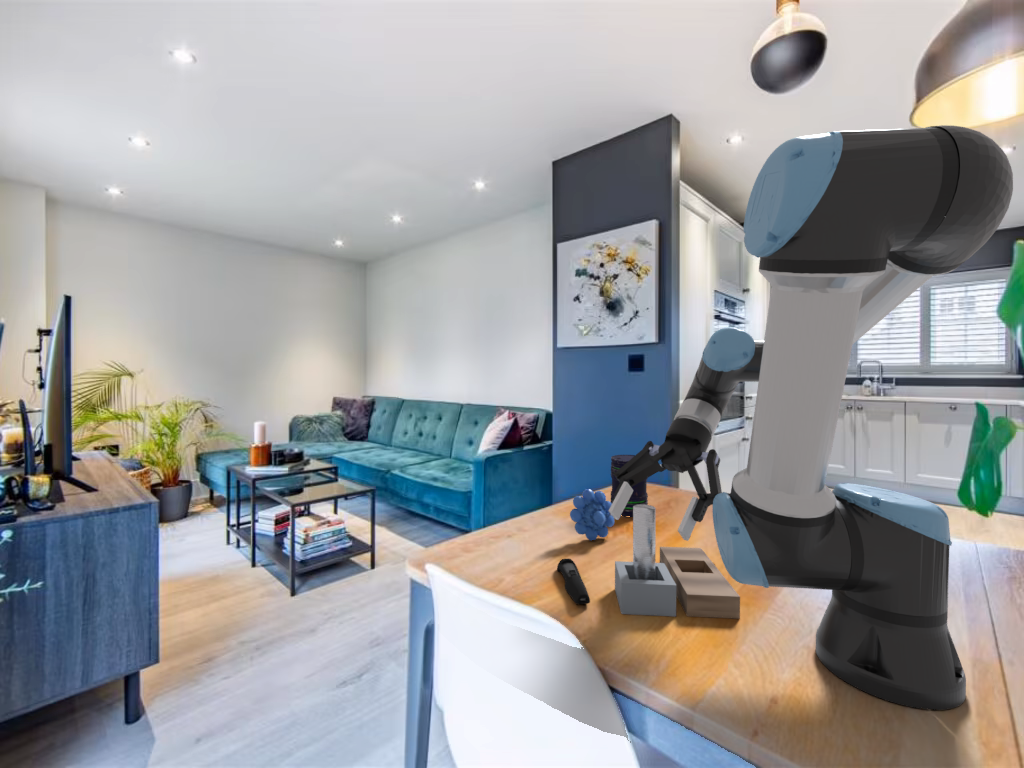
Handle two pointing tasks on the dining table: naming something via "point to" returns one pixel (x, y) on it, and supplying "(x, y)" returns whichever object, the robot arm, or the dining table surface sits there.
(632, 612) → the block
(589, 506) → the blue lobed rosette
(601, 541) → the dining table surface
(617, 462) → the dark blue ridged cylinder
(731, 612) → the beam
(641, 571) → the axle
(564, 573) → the electric trimmer
